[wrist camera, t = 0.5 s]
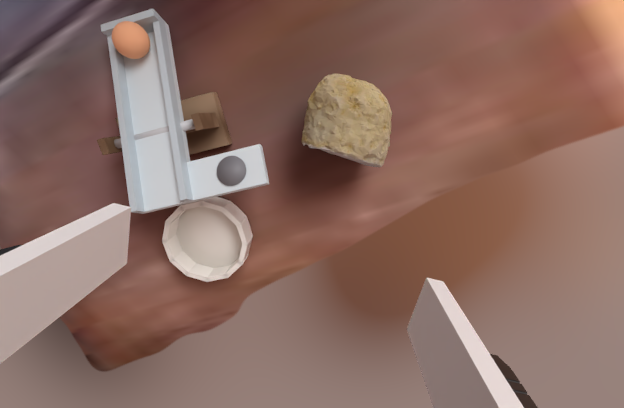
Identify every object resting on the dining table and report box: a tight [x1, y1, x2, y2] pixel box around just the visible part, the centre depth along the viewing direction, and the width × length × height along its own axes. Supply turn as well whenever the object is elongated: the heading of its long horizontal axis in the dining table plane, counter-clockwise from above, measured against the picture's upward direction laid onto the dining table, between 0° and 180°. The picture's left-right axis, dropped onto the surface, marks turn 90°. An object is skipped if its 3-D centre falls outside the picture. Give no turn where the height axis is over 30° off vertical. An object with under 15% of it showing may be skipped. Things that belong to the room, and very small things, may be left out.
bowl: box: [162, 197, 253, 282], centre depth 42 cm, size 10×10×3 cm
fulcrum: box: [97, 92, 232, 155], centre depth 37 cm, size 6×12×6 cm, turn 104°
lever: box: [101, 9, 269, 214], centre depth 34 cm, size 20×15×3 cm
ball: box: [112, 21, 150, 59], centre depth 34 cm, size 4×4×4 cm
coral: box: [302, 74, 392, 167], centre depth 34 cm, size 10×10×10 cm
